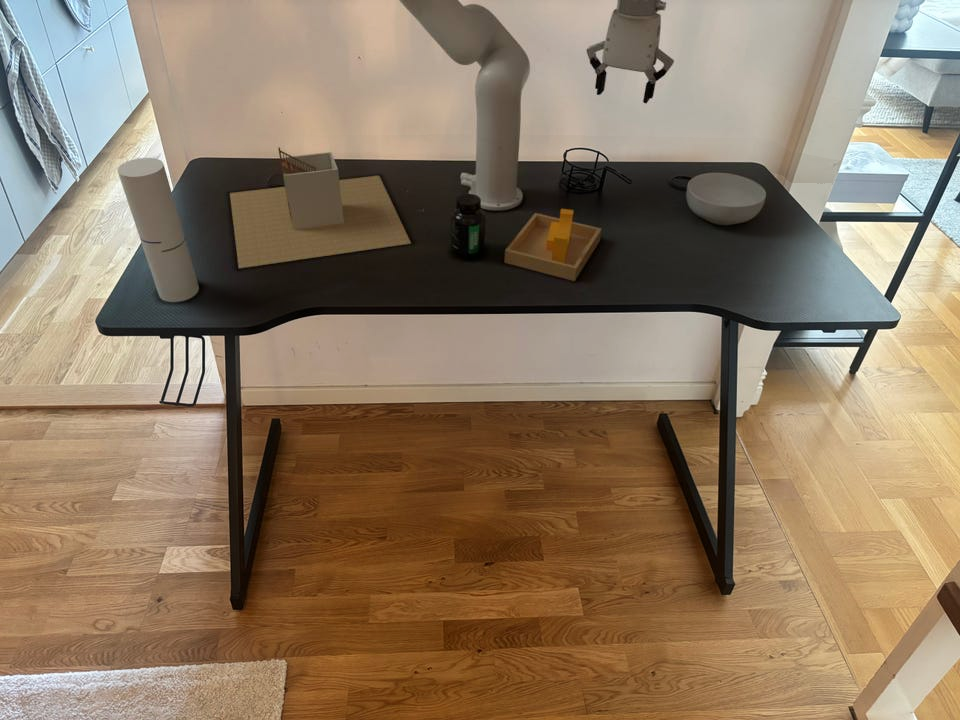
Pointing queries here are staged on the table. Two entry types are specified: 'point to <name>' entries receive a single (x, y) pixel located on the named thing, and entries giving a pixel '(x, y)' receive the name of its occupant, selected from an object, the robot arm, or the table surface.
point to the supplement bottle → (468, 227)
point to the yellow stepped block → (560, 236)
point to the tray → (534, 256)
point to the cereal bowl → (724, 198)
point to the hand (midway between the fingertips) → (623, 97)
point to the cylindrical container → (159, 228)
